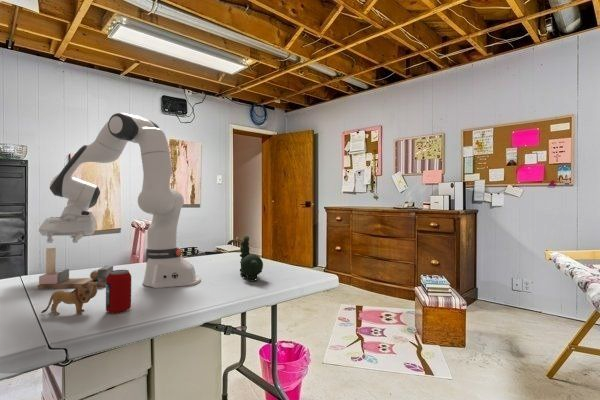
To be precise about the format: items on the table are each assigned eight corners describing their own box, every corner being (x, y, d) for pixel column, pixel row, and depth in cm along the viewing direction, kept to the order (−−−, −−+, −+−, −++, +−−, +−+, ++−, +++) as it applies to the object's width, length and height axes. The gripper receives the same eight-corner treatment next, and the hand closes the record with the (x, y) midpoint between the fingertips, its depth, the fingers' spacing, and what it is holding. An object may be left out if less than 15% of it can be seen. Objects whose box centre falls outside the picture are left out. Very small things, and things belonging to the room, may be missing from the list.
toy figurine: (234, 276, 156) (244, 284, 133) (234, 236, 158) (244, 236, 135) (254, 275, 160) (267, 282, 136) (254, 235, 161) (266, 236, 138)
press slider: (69, 278, 135) (70, 246, 135) (59, 283, 127) (60, 249, 127) (49, 279, 133) (50, 247, 133) (38, 284, 125) (39, 249, 125)
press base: (116, 280, 139) (116, 265, 139) (108, 286, 130) (108, 269, 130) (51, 282, 134) (51, 266, 134) (37, 289, 124) (37, 271, 124)
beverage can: (112, 307, 104) (112, 269, 104) (134, 307, 105) (135, 269, 105) (101, 314, 97) (101, 274, 98) (125, 314, 98) (125, 273, 98)
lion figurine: (99, 308, 103) (100, 279, 103) (93, 314, 98) (93, 283, 98) (45, 311, 100) (45, 281, 100) (35, 317, 95) (36, 286, 95)
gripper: (43, 212, 144) (30, 237, 134) (96, 212, 148) (86, 236, 138) (48, 222, 148) (36, 247, 138) (99, 222, 152) (90, 246, 143)
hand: (61, 242), depth 138 cm, fingers open, 8 cm apart
